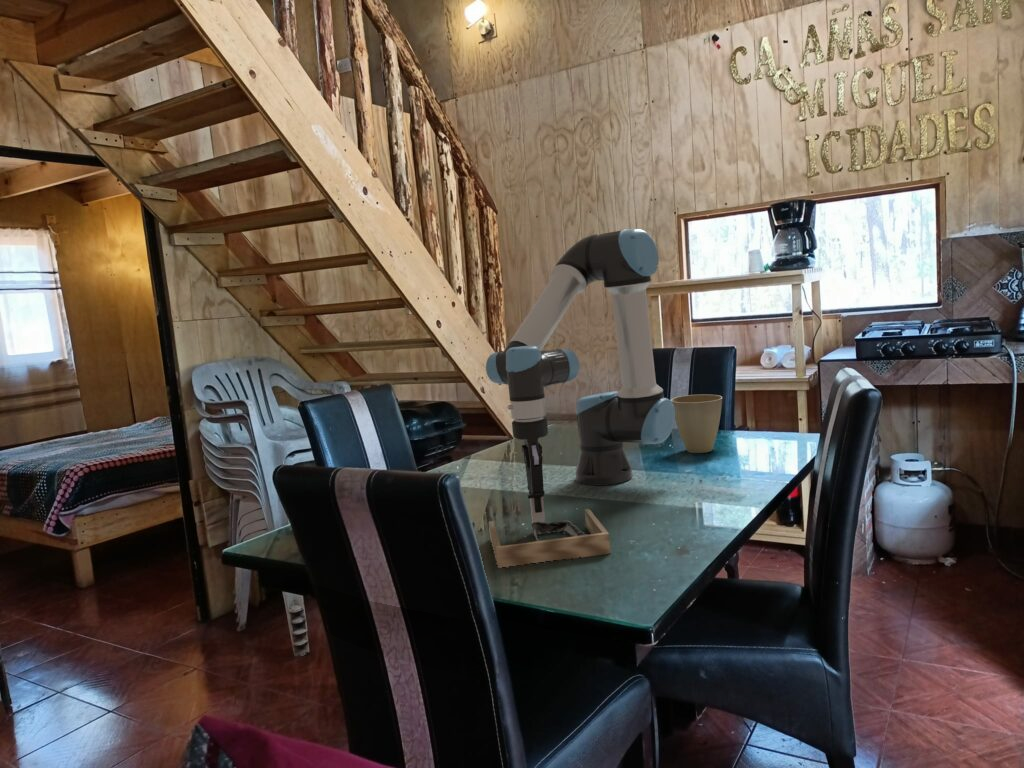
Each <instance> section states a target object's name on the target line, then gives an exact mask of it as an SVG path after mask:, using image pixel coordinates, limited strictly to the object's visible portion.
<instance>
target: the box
mask: <svg viewBox="0 0 1024 768" xmlns="http://www.w3.org/2000/svg"><path fill="white" fill-rule="evenodd" d="M584 518H585V528H586V530H588V532H589V533H590V534H586V535H582V536H568V537H559V538H551V539H544V540H540V541H536V540H535V541H529V542H524V543H523V542H521V543H513V544H506V545H502V544H501V542H500V539H499V535H498V532H497V528H496V527H495V523H494V521H493V520H492V521H491V520H490V521H488V530H489V540H490V543H492V544H491V547H493V548H492V550H494V551H493V555H494V554H495V555H494V558H495V561H497V562H496V566H497V565H498V566H497V569H498V568H499V569H503V568H502V567H506V568H510V567H509V566H514V567H517V566H516V565H521V566H524V565H523V564H529V565H531V564H530V563H536V562H544V563H546V562H545V561H551V562H554V561H553V560H558V561H563V560H562V559H566V560H572V559H571V558H573V559H578V558H579V557H581V558H585V557H586V558H587V557H594V556H601V555H603V556H604V555H609V553H610V554H611V543H610V533H609V532H608V530H607V529H606V527H604V525H603V524H602V523H601V521H600V520H599V519H598V518H597V516H595V514H594V513H593V512H592V511H591V510H590V509H589V508H587V509H584ZM579 559H580V558H579ZM536 564H537V563H536Z"/></svg>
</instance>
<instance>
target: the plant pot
mask: <svg viewBox="0 0 1024 768" xmlns="http://www.w3.org/2000/svg"><path fill="white" fill-rule="evenodd" d="M670 400H671V402H672V404H673V405H674V408H675V423H676V427H677V429H678V433H679V435H680V438H681V440H682V443H683V444H684V445H683V446H684V448H685V450H686V451H687V453H692V454H703V453H704V454H705V453H709V452H712V451H713V449H714V446H715V442H716V440H717V435H718V430H719V426H720V420H721V414H722V405H723V396H721V395H718V394H707V393H706V394H689V395H681V396H676V397H672V398H671V399H670Z"/></svg>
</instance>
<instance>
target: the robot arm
mask: <svg viewBox="0 0 1024 768" xmlns="http://www.w3.org/2000/svg"><path fill="white" fill-rule="evenodd" d="M659 261H660V260H659V251H658V247H657V245H656V242H655V241H654V239H653V238H652V236H650V234H649V233H648V232H647V231H645V230H643V229H641V228H640V229H639V228H632V229H626V228H625V229H623V230H621V229H620V230H617V231H611V232H610V231H609V232H605V233H599V234H597V233H595V234H591V235H588V236H585V237H583V238H581V239H580V240H579V241H577V242H576V243H575V244H573V245H572V246H571V247H570V248H569V249H567V251H566V252H565V253H564V254H563V255H562V256H561V257H560V259H559V260H558V261H557V263H556V264H555V265H554V267H553V269H552V271H551V278H550V279H549V281H548V283H547V284H546V286H545V287H544V289H543V291H542V293H541V294H540V295H539V297H537V299H536V301H535V303H534V305H533V306H532V308H531V309H530V310H529V312H528V313H527V315H526V316H525V318H524V320H523V321H522V322H521V324H520V326H519V327H518V328H517V330H516V331H515V332H514V335H513V336H512V338H511V339H510V341H509V342H508V343H507V345H506V347H505V349H504V350H503V351H496V352H493V353H491V354H490V355H489V356H488V357H487V360H486V362H485V371H486V375H487V377H488V379H489V380H490V381H491V382H493V383H494V384H499V385H500V384H501V385H506V386H508V393H509V394H508V395H509V403H510V404H509V405H507V410H510V415H511V419H513V420H512V422H511V427H512V428H511V429H512V436H513V438H514V439H516V440H521V441H522V440H523V443H524V444H522V445H521V451H522V454H523V461H524V462H523V463H524V465H525V474H526V481H527V487H526V488H527V490H528V493H529V494H527V499H528V500H529V504H530V512H531V524H532V523H533V522H542V523H546V515H545V504H544V497H545V490H544V489H545V488H544V487H545V486H544V476H543V475H544V474H543V473H544V472H543V457H544V456H543V455H542V454H543V446H542V445H541V443H539V439H540V438H544V437H547V436H548V434H549V430H548V420H547V418H546V416H547V406H546V403H547V402H546V396H545V388H547V387H548V386H554V385H559V384H565V383H567V382H570V381H573V380H574V379H575V378H576V377H577V376H578V374H579V372H580V360H579V358H578V356H577V354H576V353H575V352H574V351H573V350H571V349H568V348H556V349H551V350H543V349H544V347H545V346H546V344H547V343H548V341H549V340H550V338H551V336H552V334H553V333H554V331H555V330H556V328H557V327H558V325H559V323H560V322H561V320H562V318H564V316H565V314H566V312H567V310H568V309H569V307H570V306H571V304H572V303H573V301H574V300H575V298H576V297H577V295H578V294H582V293H583V292H584V291H585V290H586V289H587V287H588V285H590V284H592V283H594V282H598V281H603V287H604V289H605V290H606V291H607V292H609V293H610V295H611V302H612V311H613V320H614V329H615V337H616V338H615V339H616V343H617V344H616V345H617V353H618V362H619V370H620V378H621V379H620V381H621V388H620V390H618V391H616V390H615V391H607V392H601V393H597V394H591V395H587V396H583V397H581V398H579V399H577V402H576V414H575V415H576V421H577V422H576V423H577V431H578V440H579V441H578V442H579V456H578V461H577V466H576V468H575V469H576V470H575V481H576V482H577V483H578V484H581V485H582V484H583V485H586V486H607V485H608V486H609V485H614V484H615V485H616V484H620V483H624V482H627V481H629V480H631V479H632V478H633V470H632V466H631V463H630V461H629V459H628V457H627V454H626V452H625V449H624V443H626V444H627V443H631V444H632V443H633V444H643V445H657V444H660V445H661V444H662V443H664V442H665V441H666V440H667V439H668V438H669V437H670V436H671V433H672V431H673V429H674V426H675V425H674V424H675V423H676V420H675V408H674V405H673V404H672V402H671V399H669V398H667V397H665V396H664V389H663V388H662V387H661V386H659V384H657V380H656V379H657V378H656V371H655V370H656V369H655V361H654V360H655V359H654V354H653V353H654V352H653V343H652V335H651V334H652V333H651V332H652V331H651V324H650V316H649V314H650V313H649V307H648V298H647V288H648V287H649V286H650V284H651V283H652V278H651V276H653V275H654V274H655V273H657V269H658V265H659Z"/></svg>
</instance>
